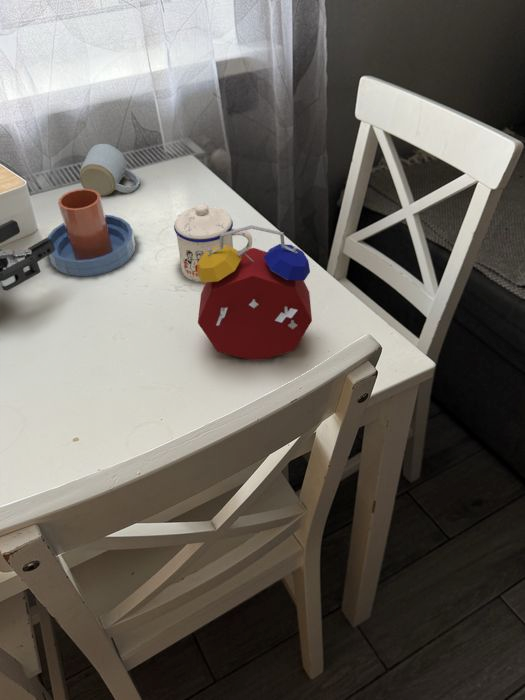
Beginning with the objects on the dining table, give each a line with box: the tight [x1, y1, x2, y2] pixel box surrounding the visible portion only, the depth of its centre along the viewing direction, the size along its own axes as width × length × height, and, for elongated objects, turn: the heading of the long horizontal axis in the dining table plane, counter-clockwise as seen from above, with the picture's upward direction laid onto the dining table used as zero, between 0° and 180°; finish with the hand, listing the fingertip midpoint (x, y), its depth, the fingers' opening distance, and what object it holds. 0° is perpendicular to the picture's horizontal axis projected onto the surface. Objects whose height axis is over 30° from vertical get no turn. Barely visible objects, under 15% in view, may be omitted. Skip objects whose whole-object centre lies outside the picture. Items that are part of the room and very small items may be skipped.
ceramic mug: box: [79, 143, 141, 197], centre depth 116 cm, size 11×8×8 cm
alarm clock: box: [197, 225, 313, 360], centre depth 77 cm, size 15×9×20 cm, turn 90°
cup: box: [58, 188, 112, 260], centre depth 98 cm, size 6×6×10 cm
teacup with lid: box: [173, 203, 253, 284], centre depth 94 cm, size 12×9×12 cm
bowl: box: [46, 214, 136, 277], centre depth 101 cm, size 14×14×4 cm
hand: (34, 234), depth 91 cm, fingers open, 8 cm apart
